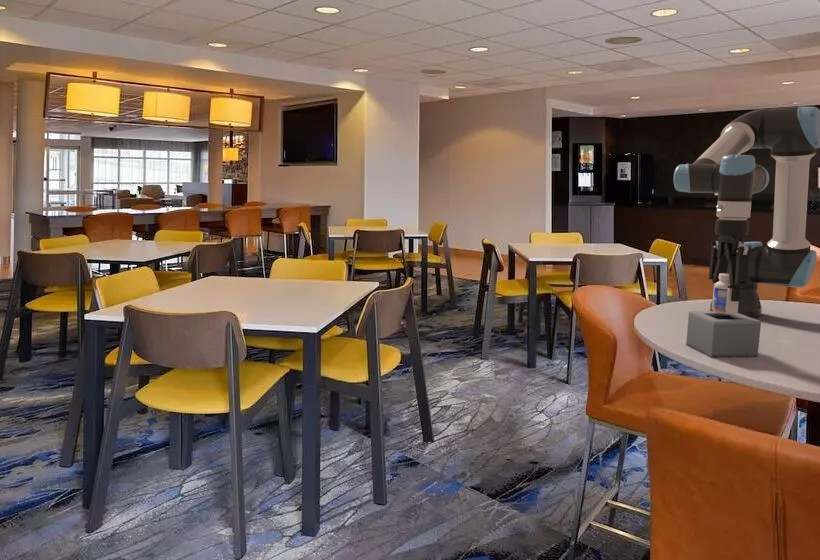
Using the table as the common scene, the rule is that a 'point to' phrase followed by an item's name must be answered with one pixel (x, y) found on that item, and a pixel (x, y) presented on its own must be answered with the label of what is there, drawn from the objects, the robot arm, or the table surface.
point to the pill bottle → (721, 293)
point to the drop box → (723, 334)
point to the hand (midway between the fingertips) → (724, 311)
